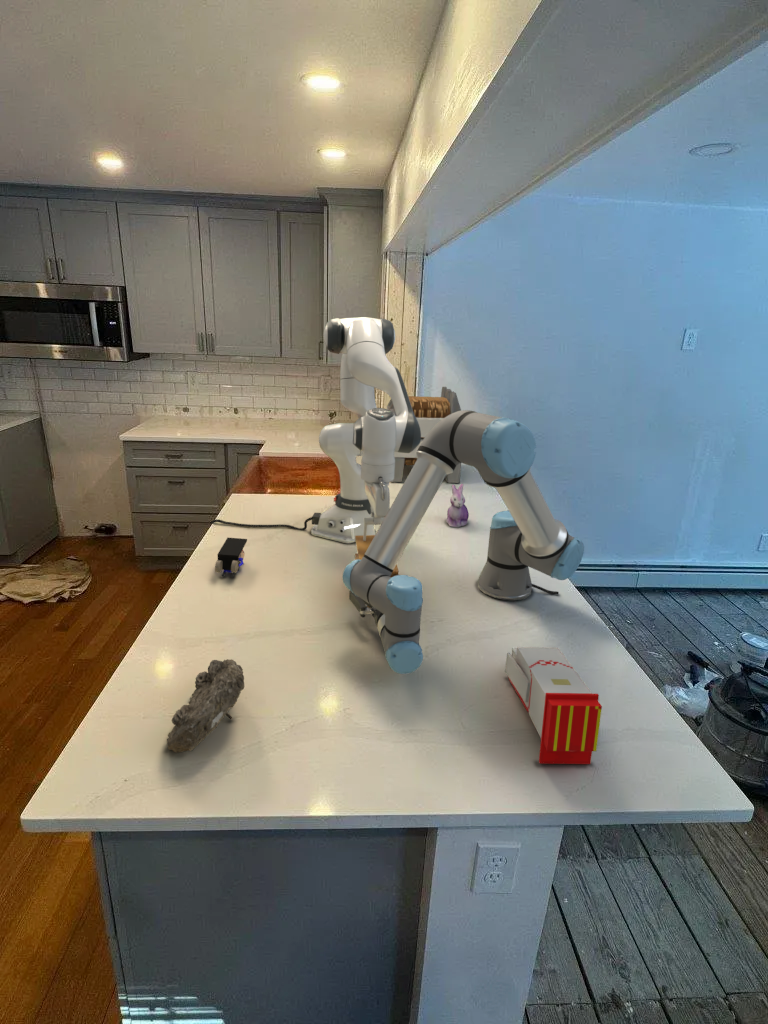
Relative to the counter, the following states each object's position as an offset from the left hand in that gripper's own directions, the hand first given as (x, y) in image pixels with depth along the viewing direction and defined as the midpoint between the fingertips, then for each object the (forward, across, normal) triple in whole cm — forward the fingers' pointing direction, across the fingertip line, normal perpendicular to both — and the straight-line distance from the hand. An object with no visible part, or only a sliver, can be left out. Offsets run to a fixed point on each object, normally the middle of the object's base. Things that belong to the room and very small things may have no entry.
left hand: (375, 520), depth 154 cm
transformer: (+22, +116, -40) cm, 125 cm away
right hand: (+14, -8, 0) cm, 16 cm away
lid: (+9, -3, 0) cm, 10 cm away
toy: (+19, -56, -26) cm, 65 cm away
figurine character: (+21, +15, +40) cm, 47 cm away
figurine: (+21, +48, -39) cm, 66 cm away
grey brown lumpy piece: (+20, -50, +38) cm, 66 cm away
